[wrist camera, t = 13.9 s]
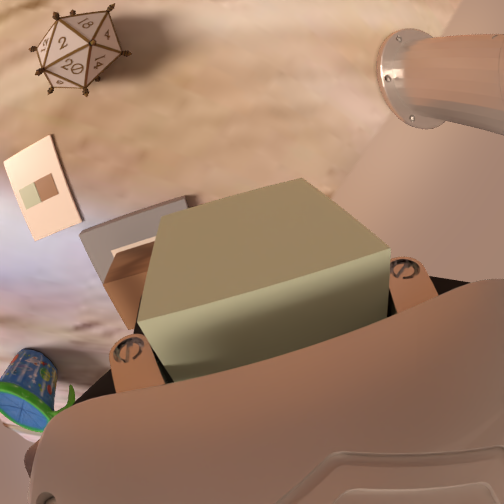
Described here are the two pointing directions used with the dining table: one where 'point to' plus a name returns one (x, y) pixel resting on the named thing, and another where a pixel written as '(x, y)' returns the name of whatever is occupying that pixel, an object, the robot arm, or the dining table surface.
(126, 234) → the plate
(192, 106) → the dining table surface
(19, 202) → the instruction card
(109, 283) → the walnut block
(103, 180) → the dining table surface
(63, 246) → the dining table surface
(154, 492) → the robot arm
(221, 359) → the sage block
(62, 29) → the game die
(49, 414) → the snack cup
